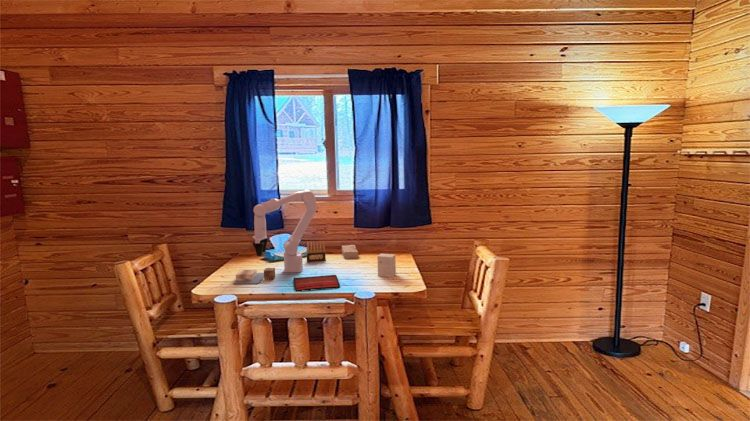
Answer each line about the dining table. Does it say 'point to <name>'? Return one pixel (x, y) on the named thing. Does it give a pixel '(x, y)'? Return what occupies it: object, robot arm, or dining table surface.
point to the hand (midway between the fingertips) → (261, 253)
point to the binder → (316, 282)
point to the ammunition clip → (316, 252)
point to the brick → (349, 252)
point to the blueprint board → (255, 281)
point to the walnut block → (269, 273)
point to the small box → (386, 265)
